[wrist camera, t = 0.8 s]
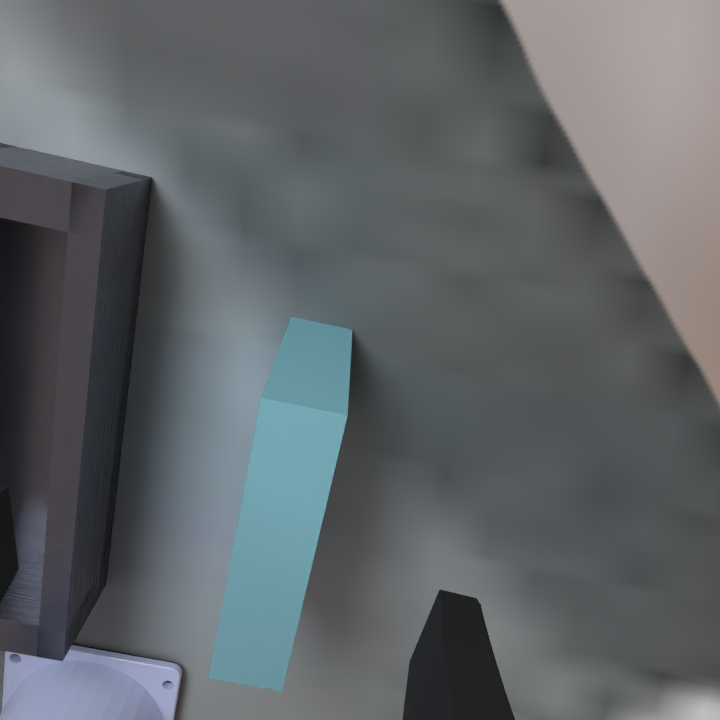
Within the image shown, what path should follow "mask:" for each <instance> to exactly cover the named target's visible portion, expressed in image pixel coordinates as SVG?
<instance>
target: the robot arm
mask: <svg viewBox="0 0 720 720" xmlns="http://www.w3.org/2000/svg"><path fill="white" fill-rule="evenodd" d="M18 569H19V565H18V557H17V549H16V541H15V533H14V525H13V518H12V510H11V502H10V494H9V487H8V486H4V485H0V603H1V601H2V599H3V597H4V596H5V594H6V592H7V590H8V588H9V586H10V584H11V583H12V581H13V579H14V577H15V575H16V573H17V571H18ZM16 654H17V655H19V656H17V655H16ZM181 676H182V669H181V668H180V666H178V665H177V664H175V663H171V662H165V661H159V660H154V659H148V658H143V657H137V656H131V655H126V654H120V653H115V652H109V651H103V650H98V649H92V648H87V647H81V646H75V645H72V646H71V648H70V649H69V651H68V653H67V655H66V657H65V658H64V660H63V661H58V660H52V659H47V658H41V657H35V656H30V655H24V654H18V653H13V652H7V651H5V663H4V681H3V700H2V712H1V714H0V720H174V717H175V711H176V705H177V699H178V694H179V688H180V682H181ZM167 681H170V682H172V683H169V682H167ZM403 720H515V718H514V715H513V713H512V710H511V707H510V704H509V701H508V698H507V695H506V692H505V689H504V686H503V683H502V679H501V676H500V673H499V670H498V667H497V663H496V660H495V657H494V653H493V650H492V647H491V643H490V639H489V636H488V632H487V628H486V625H485V621H484V617H483V613H482V609H481V604H480V603H479V602H478V600H477V599H476V598H473V597H469V596H464V595H460V594H456V593H452V592H448V591H443V590H439V592H438V595H437V597H436V600H435V602H434V604H433V607H432V609H431V612H430V614H429V617H428V619H427V621H426V624H425V626H424V629H423V631H422V633H421V636H420V638H419V641H418V643H417V645H416V648H415V650H414V653H413V655H412V657H411V660H410V664H409V672H408V680H407V688H406V696H405V704H404V713H403Z"/></svg>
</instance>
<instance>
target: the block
mask: <svg viewBox="0 0 720 720" xmlns="http://www.w3.org/2000/svg"><path fill="white" fill-rule="evenodd" d="M351 348H352V330H350V329H345V328H341V327H336V326H332V325H327V324H322V323H318V322H313V321H308V320H304V319H299V318H294V317H291V319H290V322H289V324H288V327H287V330H286V332H285V335H284V338H283V340H282V343H281V346H280V348H279V351H278V354H277V356H276V359H275V362H274V364H273V367H272V370H271V372H270V375H269V378H268V380H267V383H266V386H265V388H264V391H263V394H262V396H261V401H260V406H259V411H258V417H257V422H256V427H255V433H254V438H253V443H252V449H251V454H250V459H249V465H248V470H247V475H246V481H245V486H244V491H243V497H242V502H241V507H240V513H239V518H238V523H237V529H236V534H235V539H234V545H233V550H232V555H231V561H230V566H229V571H228V577H227V582H226V587H225V593H224V598H223V604H222V609H221V614H220V620H219V625H218V630H217V636H216V641H215V646H214V652H213V657H212V662H211V668H210V673H209V678H208V679H214V680H220V681H226V682H231V683H237V684H243V685H248V686H254V687H260V688H265V689H271V690H277V691H282V690H283V686H284V682H285V677H286V673H287V669H288V665H289V660H290V656H291V652H292V648H293V644H294V639H295V635H296V631H297V627H298V623H299V618H300V614H301V610H302V606H303V601H304V597H305V593H306V589H307V585H308V580H309V576H310V572H311V568H312V563H313V559H314V555H315V551H316V547H317V542H318V538H319V534H320V530H321V526H322V521H323V517H324V513H325V509H326V504H327V500H328V496H329V492H330V488H331V483H332V479H333V475H334V471H335V467H336V462H337V458H338V454H339V450H340V445H341V441H342V437H343V433H344V429H345V424H346V420H347V416H348V400H349V382H350V365H351Z"/></svg>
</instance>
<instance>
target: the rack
mask: <svg viewBox="0 0 720 720" xmlns="http://www.w3.org/2000/svg"><path fill="white" fill-rule="evenodd" d="M151 183H152V177H147V176H143V175H139V174H134V173H130V172H125V171H121V170H116V169H112V168H108V167H103V166H99V165H94V164H90V163H86V162H81V161H77V160H72V159H68V158H63V157H59V156H55V155H50V154H46V153H41V152H37V151H33V150H28V149H24V148H19V147H15V146H10V145H6V144H2V143H0V485H4V486H8V487H9V494H10V502H11V510H12V518H13V525H14V533H15V541H16V549H17V557H18V565H19V569H18V571H17V573H16V575H15V577H14V579H13V581H12V583H11V584H10V586H9V588H8V590H7V592H6V594H5V596H4V597H3V599H2V601H1V603H0V650H1V651H7V652H13V653H18V654H24V655H30V656H35V657H41V658H47V659H52V660H58V661H63V660H64V658H65V657H66V655H67V653H68V651H69V649H70V648H71V646H72V644H73V642H74V641H75V639H76V637H77V635H78V633H79V632H80V630H81V628H82V626H83V625H84V623H85V621H86V619H87V617H88V616H89V614H90V612H91V610H92V608H93V607H94V605H95V603H96V601H97V600H98V598H99V596H100V594H101V592H102V591H103V589H104V587H105V585H106V580H107V571H108V562H109V553H110V545H111V536H112V527H113V518H114V509H115V501H116V492H117V483H118V474H119V465H120V457H121V448H122V439H123V430H124V421H125V412H126V404H127V395H128V386H129V377H130V368H131V360H132V351H133V342H134V333H135V324H136V316H137V307H138V298H139V289H140V280H141V271H142V263H143V254H144V245H145V236H146V227H147V219H148V210H149V201H150V192H151Z"/></svg>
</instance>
